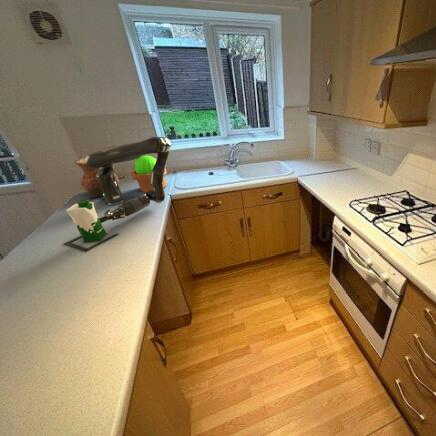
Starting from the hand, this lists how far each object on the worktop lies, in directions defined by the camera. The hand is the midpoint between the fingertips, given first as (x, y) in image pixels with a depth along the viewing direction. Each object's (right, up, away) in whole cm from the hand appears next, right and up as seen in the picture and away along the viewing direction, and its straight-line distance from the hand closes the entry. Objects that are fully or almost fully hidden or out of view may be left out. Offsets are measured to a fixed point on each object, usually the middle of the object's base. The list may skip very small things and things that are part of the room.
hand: (99, 221), depth 122 cm
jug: (-39, +20, +54) cm, 70 cm away
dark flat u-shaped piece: (-2, -9, -1) cm, 9 cm away
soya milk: (-1, -9, -1) cm, 9 cm away
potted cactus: (-6, +24, +59) cm, 65 cm away
